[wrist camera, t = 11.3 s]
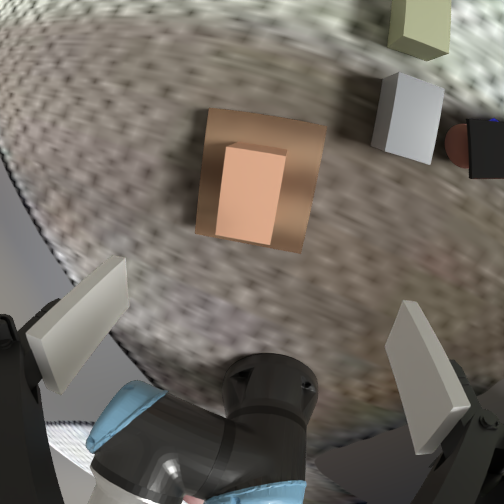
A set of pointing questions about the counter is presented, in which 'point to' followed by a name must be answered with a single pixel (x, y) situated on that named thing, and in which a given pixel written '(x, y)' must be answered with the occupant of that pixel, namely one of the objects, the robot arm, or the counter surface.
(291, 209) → the walnut board
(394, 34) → the olive brick
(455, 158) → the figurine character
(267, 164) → the terracotta brick
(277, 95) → the counter surface
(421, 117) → the grey brick
